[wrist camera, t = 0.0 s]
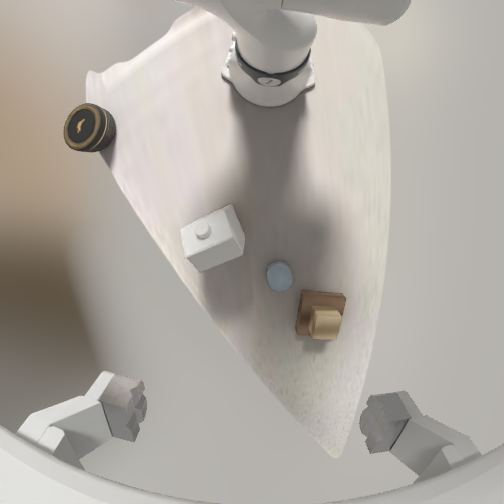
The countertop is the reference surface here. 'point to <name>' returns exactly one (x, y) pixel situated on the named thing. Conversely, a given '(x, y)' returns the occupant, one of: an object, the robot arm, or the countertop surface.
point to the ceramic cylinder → (279, 276)
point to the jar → (89, 128)
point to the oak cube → (324, 322)
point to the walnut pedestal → (316, 299)
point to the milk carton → (213, 239)
